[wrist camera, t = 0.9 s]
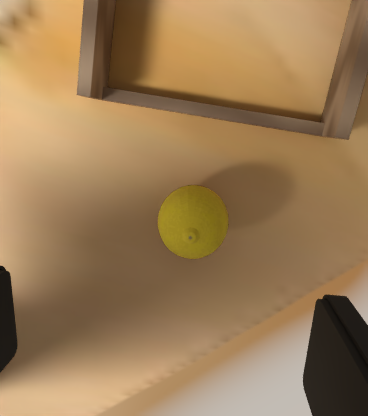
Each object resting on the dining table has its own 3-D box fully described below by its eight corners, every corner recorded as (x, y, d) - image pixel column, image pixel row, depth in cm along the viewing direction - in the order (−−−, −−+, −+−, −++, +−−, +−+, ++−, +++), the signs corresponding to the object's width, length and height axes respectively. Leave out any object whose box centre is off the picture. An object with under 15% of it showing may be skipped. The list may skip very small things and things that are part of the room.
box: (329, 137, 28) (348, 139, 24) (94, 98, 28) (76, 94, 24) (372, -26, 25) (402, -53, 21) (108, -66, 25) (91, -100, 21)
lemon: (163, 177, 30) (148, 197, 22) (226, 178, 29) (233, 198, 21) (165, 236, 31) (151, 274, 23) (225, 238, 31) (231, 276, 23)
